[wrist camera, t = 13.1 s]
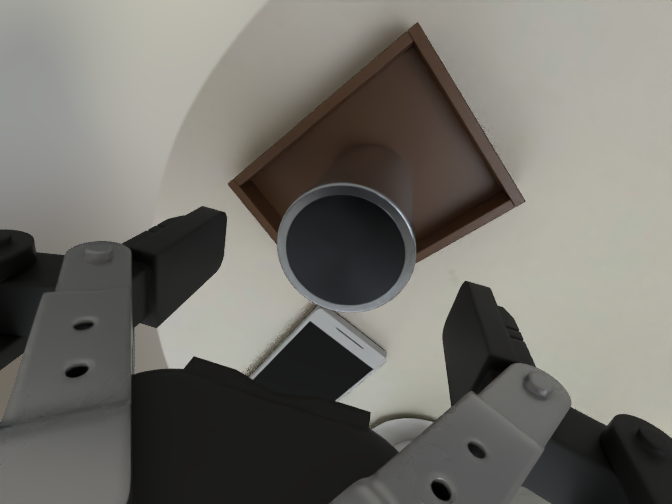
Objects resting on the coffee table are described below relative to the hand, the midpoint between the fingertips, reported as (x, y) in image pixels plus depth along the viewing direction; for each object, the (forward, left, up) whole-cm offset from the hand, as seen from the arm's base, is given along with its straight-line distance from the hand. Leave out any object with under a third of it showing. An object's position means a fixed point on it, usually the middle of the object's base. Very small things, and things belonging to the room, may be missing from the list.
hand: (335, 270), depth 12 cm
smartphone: (+19, -2, -14) cm, 23 cm away
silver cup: (0, 0, -13) cm, 13 cm away
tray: (0, 0, -14) cm, 14 cm away
